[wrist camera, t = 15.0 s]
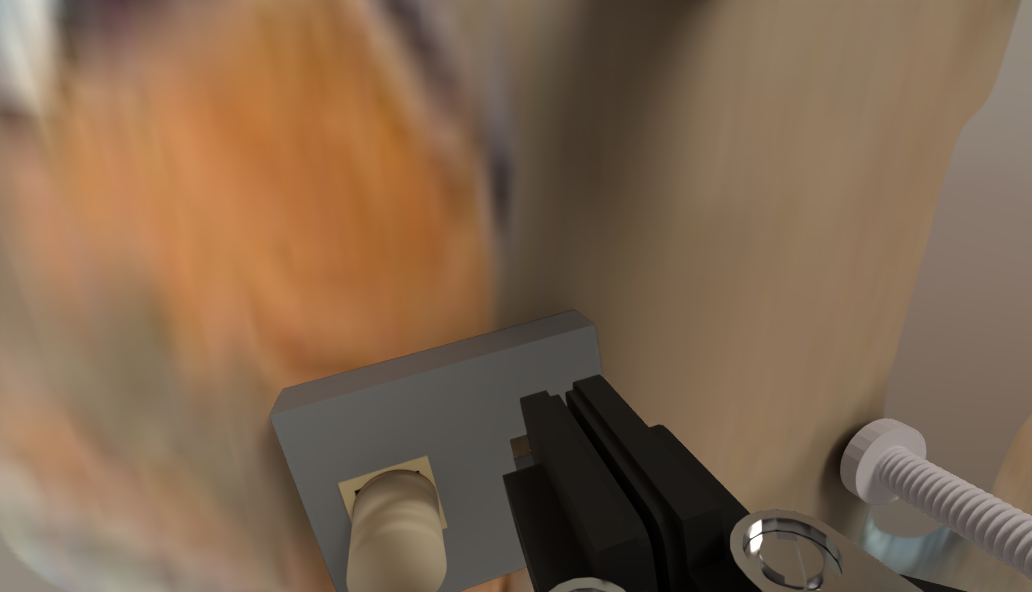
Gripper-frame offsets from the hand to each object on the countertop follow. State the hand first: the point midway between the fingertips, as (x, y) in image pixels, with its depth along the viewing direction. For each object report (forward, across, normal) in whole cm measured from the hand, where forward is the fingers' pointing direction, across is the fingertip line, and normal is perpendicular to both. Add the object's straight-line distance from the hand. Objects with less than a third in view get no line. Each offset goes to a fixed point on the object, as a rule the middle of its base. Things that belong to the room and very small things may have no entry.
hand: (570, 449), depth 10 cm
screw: (+27, -36, +31) cm, 54 cm away
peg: (+25, +8, +16) cm, 31 cm away
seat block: (+26, +3, +16) cm, 31 cm away
